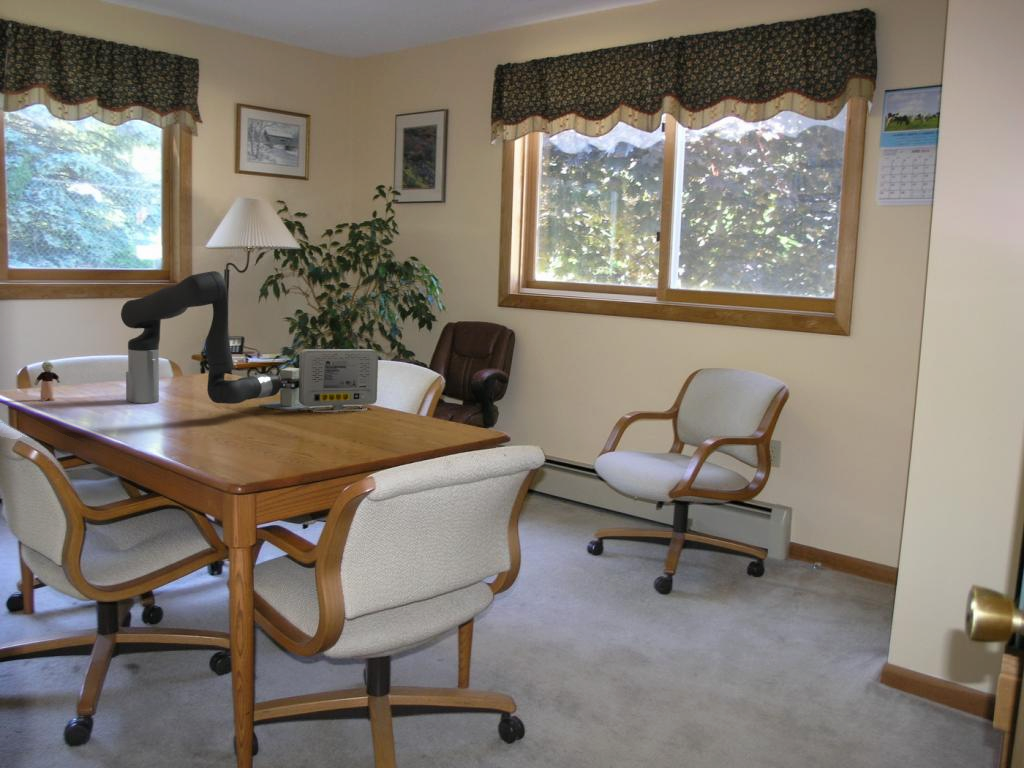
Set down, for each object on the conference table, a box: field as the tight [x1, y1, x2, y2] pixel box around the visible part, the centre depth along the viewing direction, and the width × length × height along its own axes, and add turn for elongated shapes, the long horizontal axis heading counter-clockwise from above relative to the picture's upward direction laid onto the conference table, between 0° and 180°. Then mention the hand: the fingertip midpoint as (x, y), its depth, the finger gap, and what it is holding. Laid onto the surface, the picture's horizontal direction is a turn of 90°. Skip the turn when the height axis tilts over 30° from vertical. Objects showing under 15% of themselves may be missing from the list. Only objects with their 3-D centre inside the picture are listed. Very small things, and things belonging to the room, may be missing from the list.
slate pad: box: [258, 400, 313, 413], centre depth 293 cm, size 14×14×1 cm
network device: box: [298, 348, 379, 413], centre depth 291 cm, size 26×9×20 cm, turn 118°
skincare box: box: [279, 367, 300, 407], centre depth 292 cm, size 6×4×12 cm
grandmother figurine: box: [34, 360, 61, 402], centre depth 281 cm, size 8×4×13 cm, turn 150°
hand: (295, 380), depth 294 cm, fingers open, 5 cm apart
